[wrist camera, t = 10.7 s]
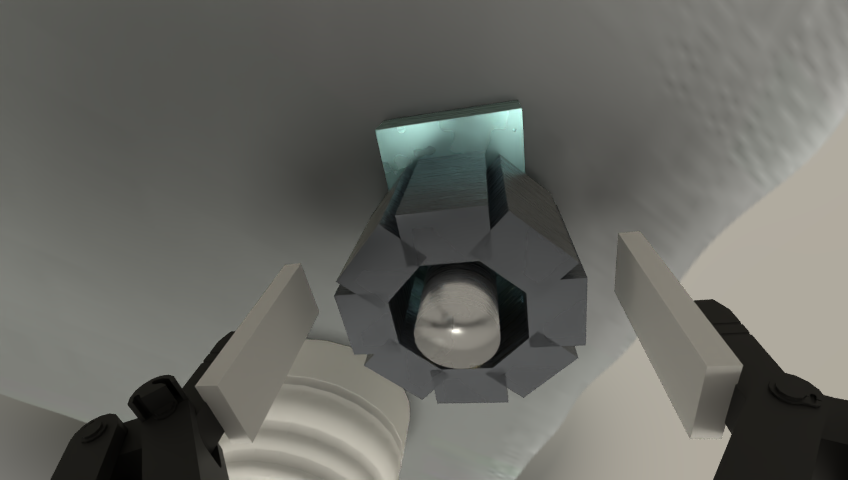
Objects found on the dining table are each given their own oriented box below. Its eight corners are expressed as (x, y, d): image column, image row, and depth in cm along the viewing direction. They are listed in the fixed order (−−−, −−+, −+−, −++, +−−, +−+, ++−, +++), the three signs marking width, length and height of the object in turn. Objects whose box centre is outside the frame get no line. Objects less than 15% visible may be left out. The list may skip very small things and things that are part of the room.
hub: (356, 167, 19) (309, 224, 14) (555, 141, 17) (589, 194, 12) (395, 316, 23) (371, 404, 18) (558, 307, 21) (584, 400, 16)
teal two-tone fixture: (384, 120, 19) (321, 188, 12) (517, 99, 18) (547, 159, 10) (425, 312, 25) (401, 446, 17) (529, 306, 24) (554, 446, 16)
